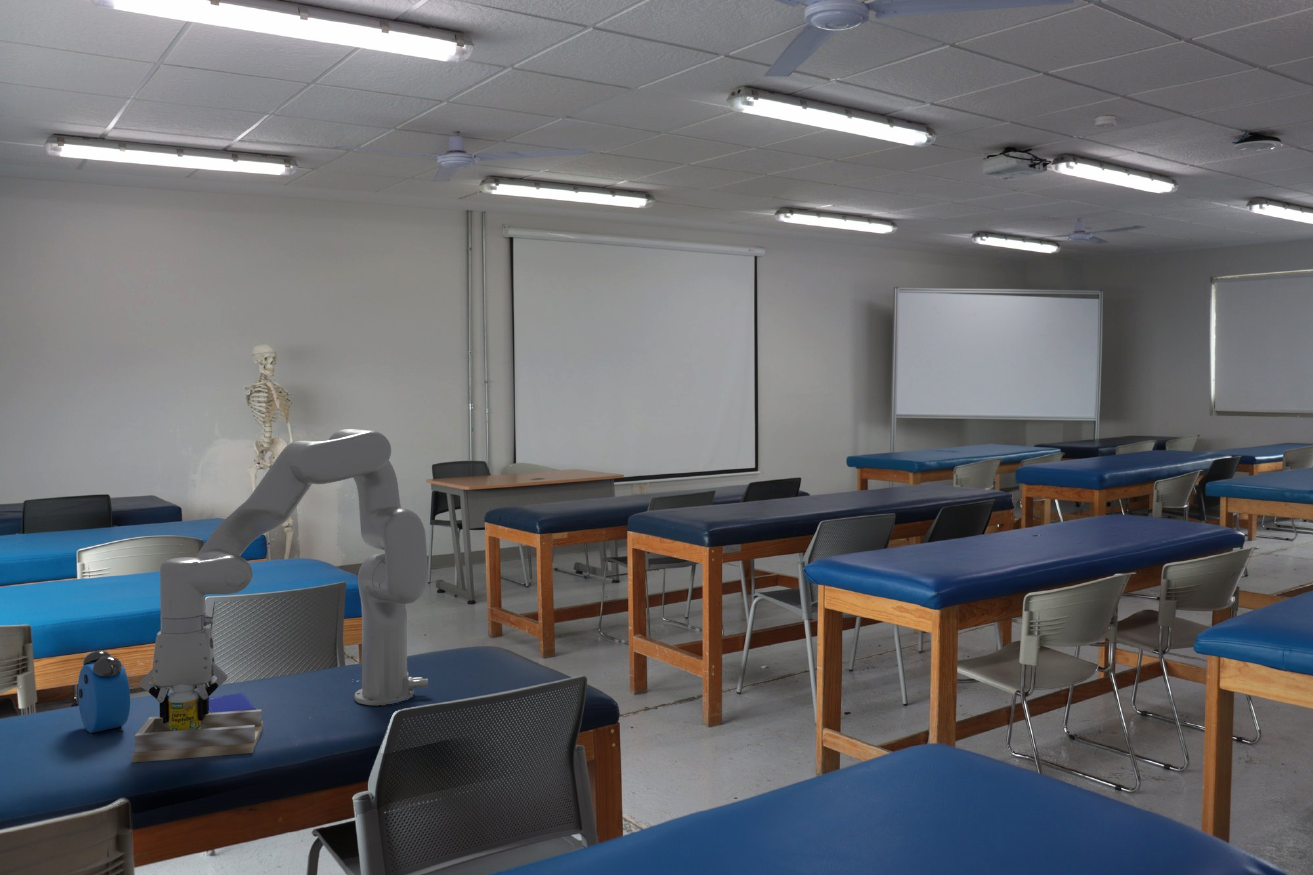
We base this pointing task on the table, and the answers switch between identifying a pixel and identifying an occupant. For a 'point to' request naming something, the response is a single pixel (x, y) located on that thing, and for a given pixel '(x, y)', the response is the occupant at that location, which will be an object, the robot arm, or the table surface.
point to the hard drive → (230, 703)
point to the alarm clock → (103, 692)
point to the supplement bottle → (183, 708)
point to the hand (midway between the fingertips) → (184, 718)
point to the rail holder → (199, 737)
